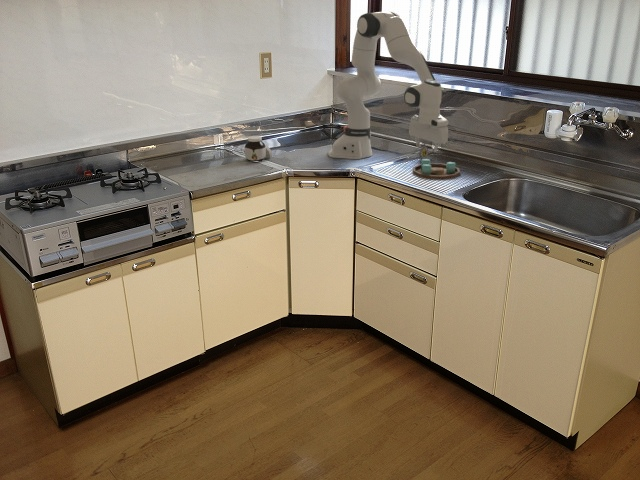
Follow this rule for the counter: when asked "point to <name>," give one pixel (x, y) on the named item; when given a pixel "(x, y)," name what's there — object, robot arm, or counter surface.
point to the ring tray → (436, 172)
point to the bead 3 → (450, 167)
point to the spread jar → (256, 149)
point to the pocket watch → (424, 153)
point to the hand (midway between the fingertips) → (426, 149)
